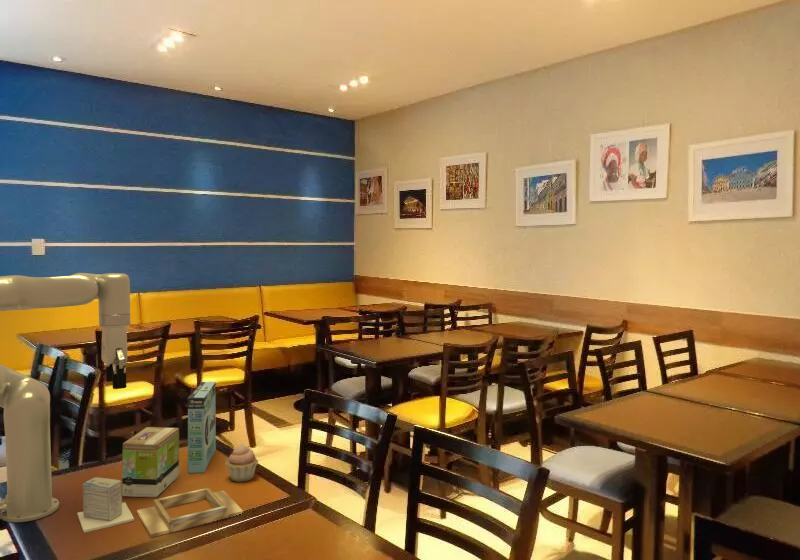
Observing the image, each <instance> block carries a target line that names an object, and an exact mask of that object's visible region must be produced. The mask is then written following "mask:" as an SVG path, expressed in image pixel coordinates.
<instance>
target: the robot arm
mask: <svg viewBox="0 0 800 560" xmlns="http://www.w3.org/2000/svg"><path fill="white" fill-rule="evenodd" d="M130 283H131V281H130V277H129V275H128V274H126V273H121V272H120V273H119V272H118V273H117V272H112V273H111V272H110V273H102V274H98V273H97V274H96V273H90V272H89V273H88V272H87V273H86V272H76V273H73V274H71V275H63V276H49V277H48V276H45V277H44V276H41V277H40V276H37V277H35V276H26V275H20V274H19V275H14V274H13V275H1V276H0V312H8V311H9V312H10V311H25V310H27V311H28V310H34V309H35V310H36V309H53V308H64V307H77V306H84V305H87V304H88V305H89V304H90V303H92V302H93V301H95V300H98V327H99V328H102V331H101V361H102V362H103V363H104V364H105V365H106V367H105V381H106V382H107V383H110V382H112V389H113V390H119V389H120V390H121V389H126V388H127V369H126V365H127V363H128V336H127V332H128V331H127V327H129V326H131V286H130V285H131V284H130ZM50 393H51V392H50V390H49V389H48V387H47V386H46V385H45V384H44V383H43V382H41V381H39V380H37V379H35V378H33V377H30V376H28V375H25V374H24V373H21V372H19V371H17V370H14V369H12V368H10V367H9V366H5V365H3V364H0V408H3V426H4V436H5V437H4V438H5V440H4V441H5V459H6V460H5V463H6V464H5V465H6V492H7V494H5V498H0V519H1V520H2V521H5V522H8V523H25V522H32V521H35V520H39V519H40V520H41V519H42V518H45V517H47V516H49V515H52V514H54V513H55V512H56V511H57V510H58V509H59V507H60V500H58V498H55V497H53V492H52V491H53V489H52V488H53V487H52V486H53V485H52V483H53V482H52V454H51V453H52V451H51V419H50V418H51V405H50V404H51V394H50Z"/></svg>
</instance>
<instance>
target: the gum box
mask: <svg viewBox="0 0 800 560" xmlns="http://www.w3.org/2000/svg"><path fill="white" fill-rule="evenodd" d="M216 390H217V389H216V381H201V382H200V383H199V385H198V386H196V388H195V389H194V390H193V392H192V393H191V394H190V395H189V396H188V397H187V473H188V474H204V473H205V472H206V469H207V468H208V466H209V464H210V461H211V460H212V458H213V456H214V454H215V453H216V450H217V449H216V447H217V445H216V444H217V442H216V441H217V440H216V439H217V438H216V435H217V432H216V429H217V427H216V426H217V424H216V421H217V420H216V415H217V414H216V411H217V410H216V409H217V408H216V407H217V405H216V400H217V399H216V396H217V395H216V394H217V393H216Z"/></svg>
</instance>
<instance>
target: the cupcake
mask: <svg viewBox="0 0 800 560" xmlns="http://www.w3.org/2000/svg"><path fill="white" fill-rule="evenodd" d="M258 463H259V459H257V457H256V454H255V453H254V450H253V449H252V448H250V447H247V446H246V445H245V444H243V443H241V444H240V445H238V446H237V447H235V448H234V449H233V450H232V452H231V454H230V455H229V457H228V459H227V461H226V462H225V465H226V468H227V470H228V472H229V473H228V474H229V477H230V479H231V480H232V481H233V482H238V483H240V482H241V483H242V482H249V481H250V480H252V479H253V478H254V475H255V472H256V467H257V465H258Z"/></svg>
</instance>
